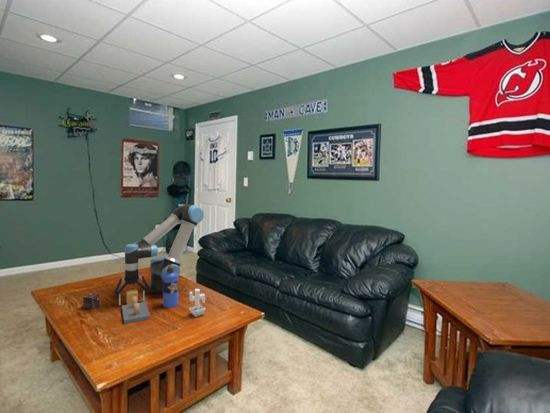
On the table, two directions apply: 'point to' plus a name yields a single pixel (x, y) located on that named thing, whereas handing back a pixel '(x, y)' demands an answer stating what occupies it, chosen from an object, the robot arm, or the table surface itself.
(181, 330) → the table surface
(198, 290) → the figurine
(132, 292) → the tan rectangular block
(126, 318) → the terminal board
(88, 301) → the box
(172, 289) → the water bottle
